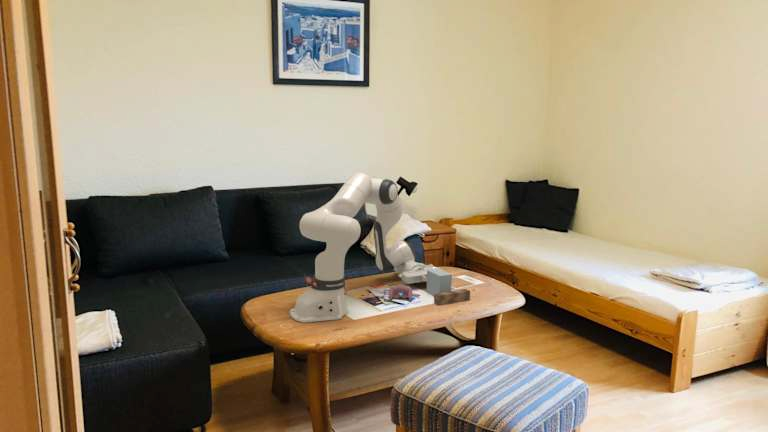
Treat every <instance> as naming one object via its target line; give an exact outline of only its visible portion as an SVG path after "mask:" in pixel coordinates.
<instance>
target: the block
mask: <svg viewBox="0 0 768 432" xmlns="http://www.w3.org/2000/svg"><path fill="white" fill-rule="evenodd" d="M441 269H442V268H440V269H431V270H427V282H426V289H425V290H426V291H425V292H426V293H427V294H430V295H431V296H433V297H434V294H437V293H443V292H450V291H452V288H451V286H452V280H453V279H452V277H453V274H452V273H450V272H447V271H445V270H444V269H442V270H441Z"/></svg>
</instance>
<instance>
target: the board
mask: <svg viewBox="0 0 768 432" xmlns="http://www.w3.org/2000/svg"><path fill="white" fill-rule="evenodd" d="M433 297H434V298H433V300H434V301H433V303H434V305H437V306H443V305H449V304H455V303H460V302H467V301H470V299H471V290H469V289H467V288H463V289H458V290H451V291H450V292H443V293H437V294H434V296H433Z"/></svg>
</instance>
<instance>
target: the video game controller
mask: <svg viewBox="0 0 768 432" xmlns="http://www.w3.org/2000/svg"><path fill="white" fill-rule="evenodd" d="M400 293H402V294H401V296H400ZM393 297H394V298H395V299H400V297H402V299H403V298H404V299H403V300H406V299H407V298H408V301H409V302H411V301H413V289H412V287H410V286H409V285H404V284H396V285H392V286H391V287H390V289H389V292H388V300H389V299H390V300H389V301H392V300H391V299H393ZM405 298H406V299H405Z"/></svg>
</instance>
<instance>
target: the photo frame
mask: <svg viewBox="0 0 768 432" xmlns="http://www.w3.org/2000/svg"><path fill="white" fill-rule="evenodd" d="M453 278H454V279H458V278H459V279H458V280H461V279H462V281H464V282H466V281H467V283H469V282H470V283H469V285H465V286H461V287H454V286H452V285H451V289H452V288H453V289H452V290H454V291H456V290H462V289H467V287H468V288H471V287H472V286H473V287H477V286H481V284H482V285H485V284H486V282H484V281H482V280H479V279H476V278H473V277H471V276H469V275H465V274H462V275H458V276H452V280H454V279H453ZM476 285H477V286H476Z"/></svg>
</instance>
